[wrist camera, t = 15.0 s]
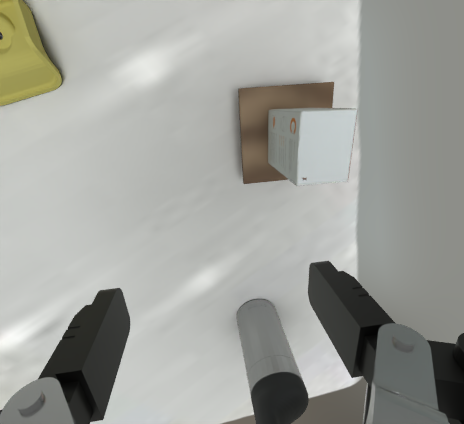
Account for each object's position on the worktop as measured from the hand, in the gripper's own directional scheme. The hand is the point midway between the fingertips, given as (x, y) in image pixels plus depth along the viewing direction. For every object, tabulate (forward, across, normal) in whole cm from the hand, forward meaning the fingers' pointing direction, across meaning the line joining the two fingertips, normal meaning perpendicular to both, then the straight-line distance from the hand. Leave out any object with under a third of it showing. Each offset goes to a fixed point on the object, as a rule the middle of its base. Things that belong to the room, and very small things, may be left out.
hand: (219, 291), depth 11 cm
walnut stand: (+36, -13, -2) cm, 38 cm away
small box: (+31, -13, -2) cm, 34 cm away
